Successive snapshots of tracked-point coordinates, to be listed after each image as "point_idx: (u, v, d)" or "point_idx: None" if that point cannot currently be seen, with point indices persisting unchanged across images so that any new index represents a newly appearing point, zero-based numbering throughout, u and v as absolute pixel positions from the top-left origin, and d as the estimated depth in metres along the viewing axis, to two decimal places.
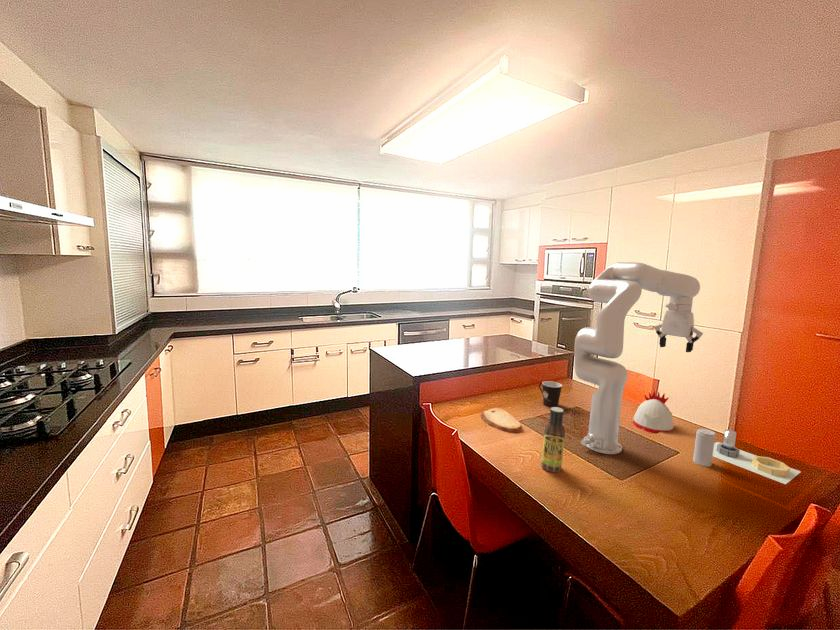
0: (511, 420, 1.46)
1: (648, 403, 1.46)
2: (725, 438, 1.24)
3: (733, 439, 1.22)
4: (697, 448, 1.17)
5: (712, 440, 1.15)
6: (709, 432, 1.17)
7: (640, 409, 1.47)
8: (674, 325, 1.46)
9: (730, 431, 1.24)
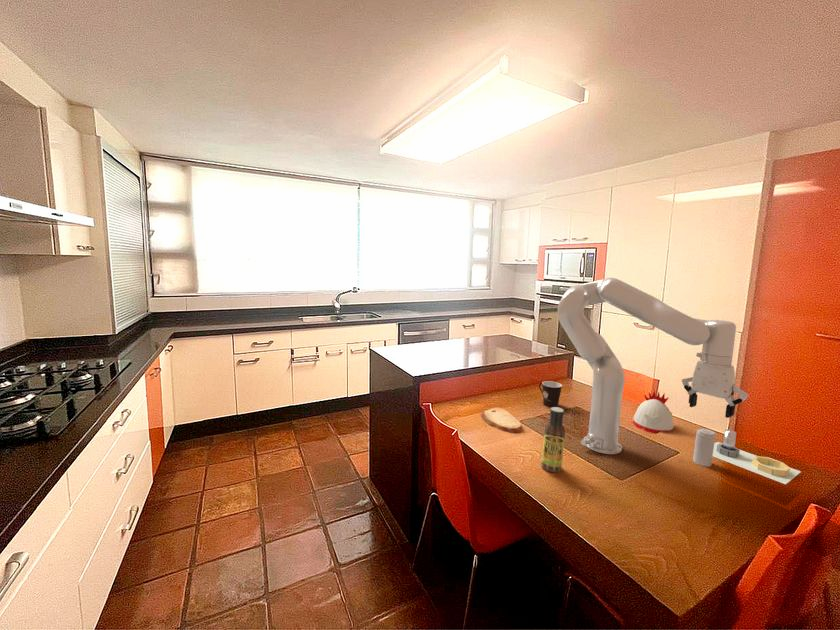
0: (512, 420, 1.46)
1: (648, 403, 1.46)
2: (725, 438, 1.24)
3: (733, 439, 1.22)
4: (697, 448, 1.17)
5: (712, 440, 1.15)
6: (709, 432, 1.17)
7: (640, 409, 1.47)
8: (709, 381, 1.13)
9: (730, 431, 1.24)
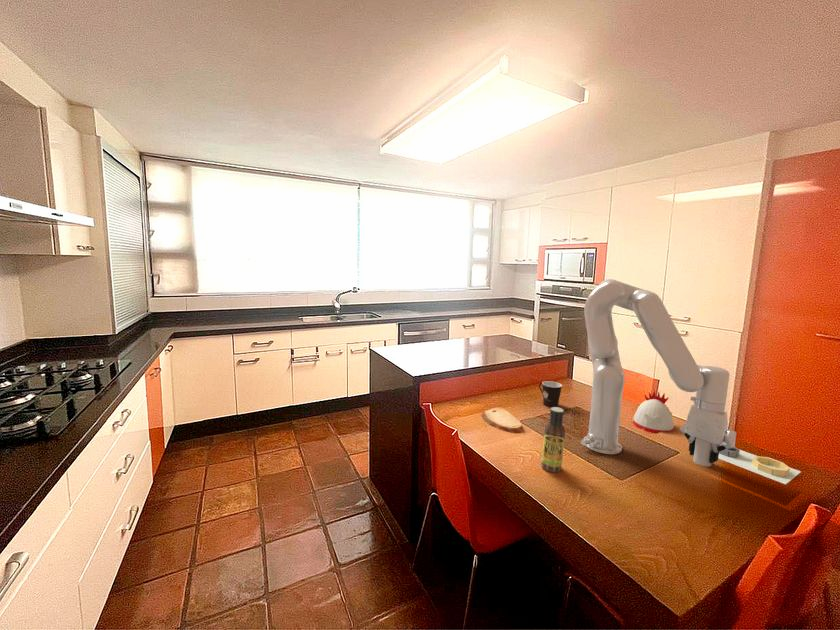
0: (512, 420, 1.47)
1: (648, 402, 1.46)
2: None
3: (733, 439, 1.22)
4: (697, 448, 1.17)
5: None
6: None
7: (641, 409, 1.47)
8: (702, 426, 1.15)
9: (730, 431, 1.24)
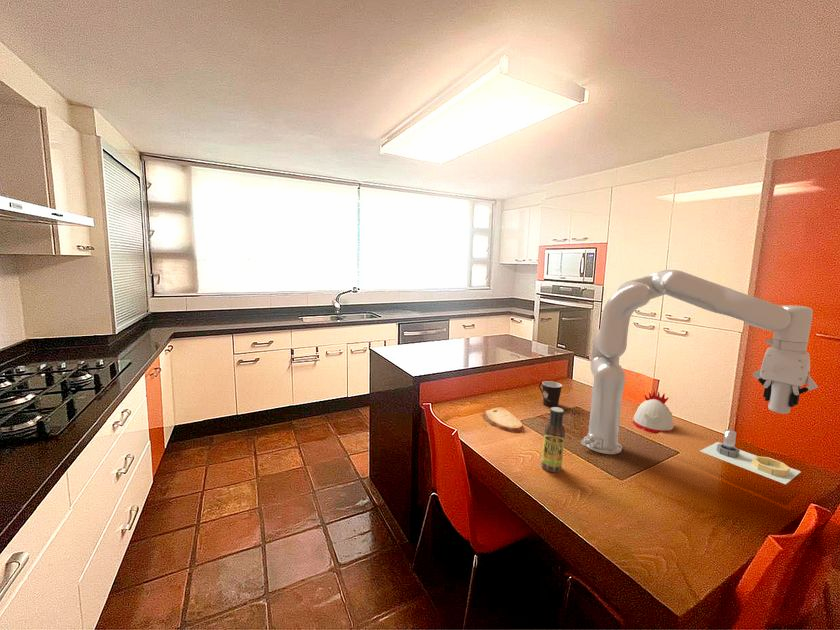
0: (513, 420, 1.47)
1: (648, 403, 1.46)
2: (725, 438, 1.24)
3: (733, 439, 1.22)
4: (775, 391, 1.11)
5: None
6: None
7: (641, 409, 1.47)
8: (781, 368, 1.09)
9: (730, 431, 1.24)
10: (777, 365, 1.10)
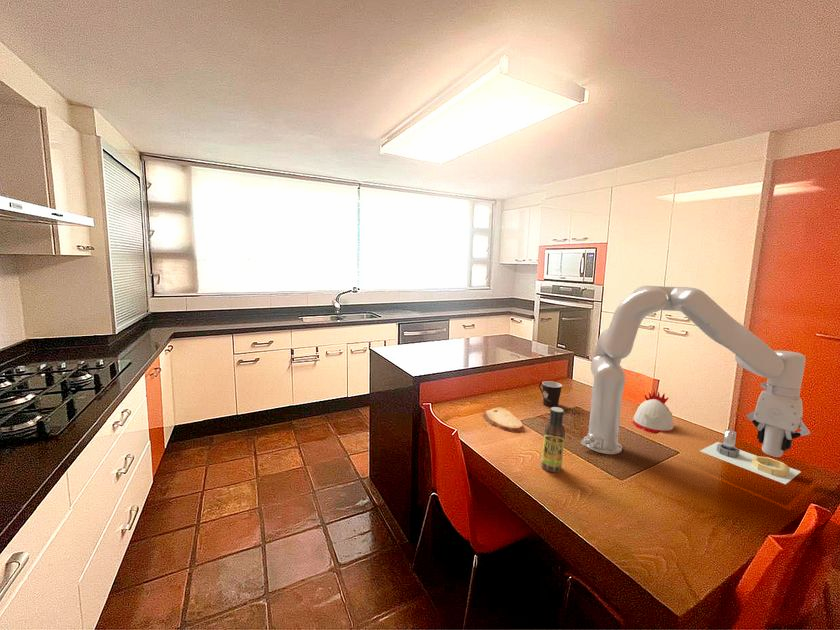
0: (513, 420, 1.47)
1: (648, 403, 1.46)
2: (725, 438, 1.24)
3: (733, 439, 1.22)
4: (768, 435, 1.13)
5: None
6: None
7: (641, 409, 1.47)
8: (774, 412, 1.11)
9: (730, 431, 1.24)
10: (770, 409, 1.12)
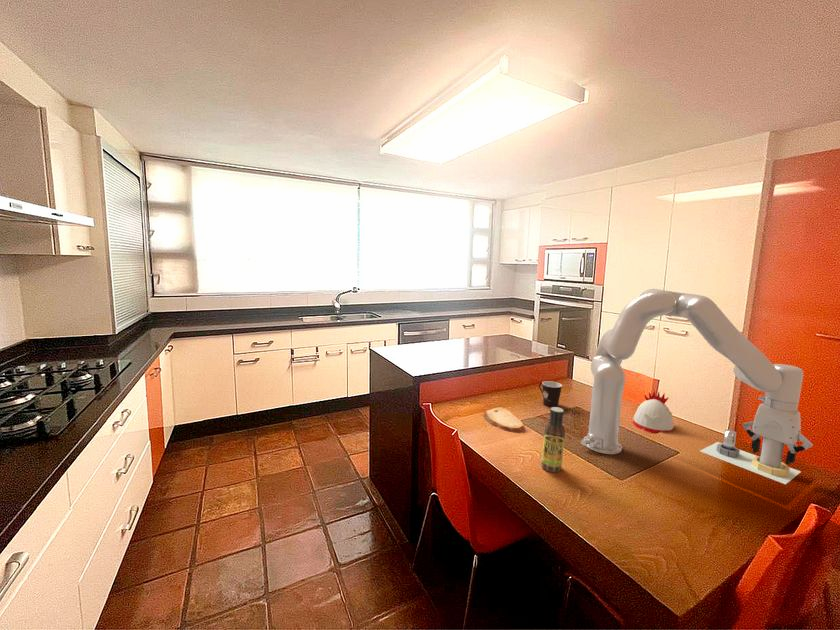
0: (514, 420, 1.47)
1: (648, 403, 1.46)
2: (725, 438, 1.24)
3: (733, 439, 1.22)
4: (766, 450, 1.14)
5: None
6: None
7: (641, 409, 1.47)
8: (773, 426, 1.12)
9: (730, 431, 1.24)
10: (769, 422, 1.13)
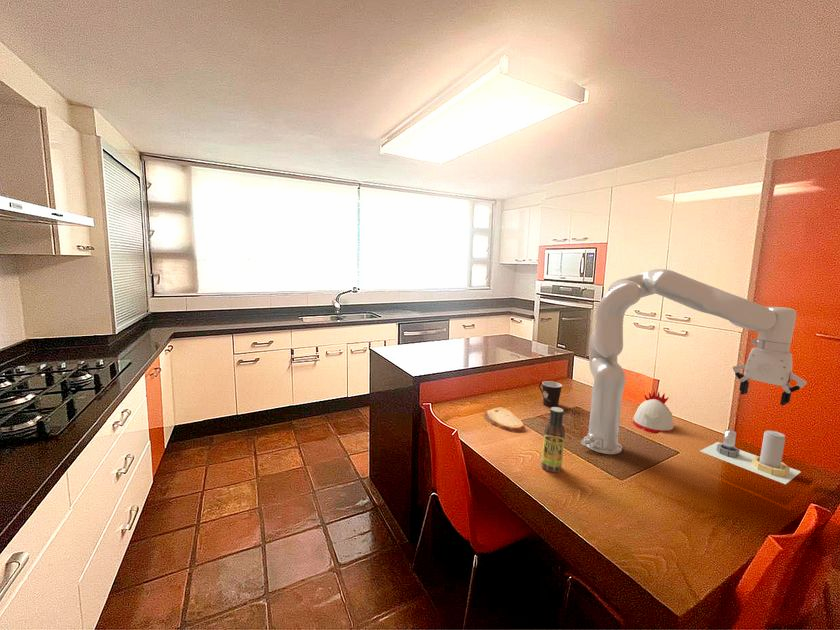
0: (514, 420, 1.47)
1: (648, 403, 1.46)
2: (725, 438, 1.24)
3: (733, 439, 1.22)
4: (766, 450, 1.14)
5: (782, 442, 1.12)
6: (778, 434, 1.13)
7: (641, 409, 1.47)
8: (764, 368, 1.12)
9: (730, 431, 1.24)
10: (760, 365, 1.13)
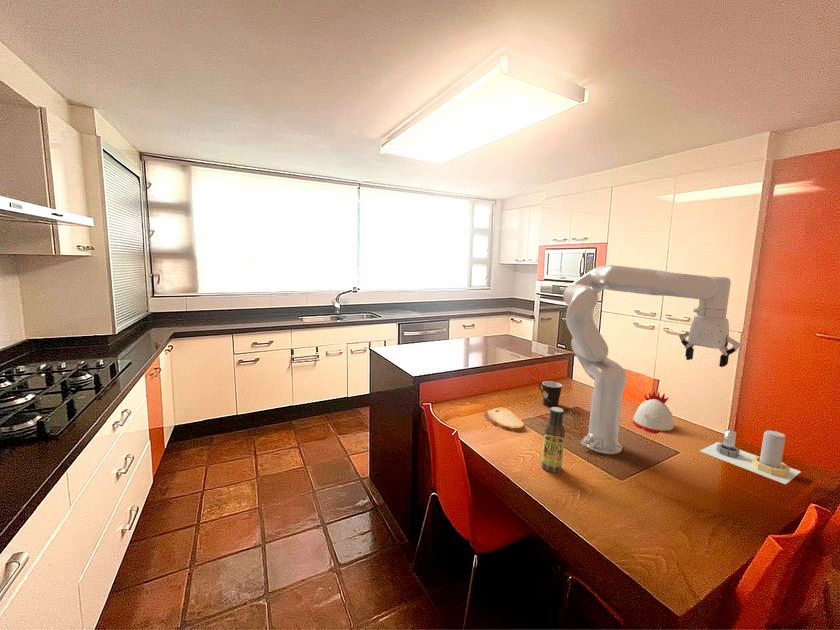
0: (514, 420, 1.47)
1: (648, 402, 1.46)
2: (725, 438, 1.24)
3: (733, 439, 1.22)
4: (766, 450, 1.14)
5: (782, 442, 1.12)
6: (778, 434, 1.13)
7: (641, 409, 1.47)
8: (704, 333, 1.21)
9: (730, 431, 1.24)
10: (701, 331, 1.22)
